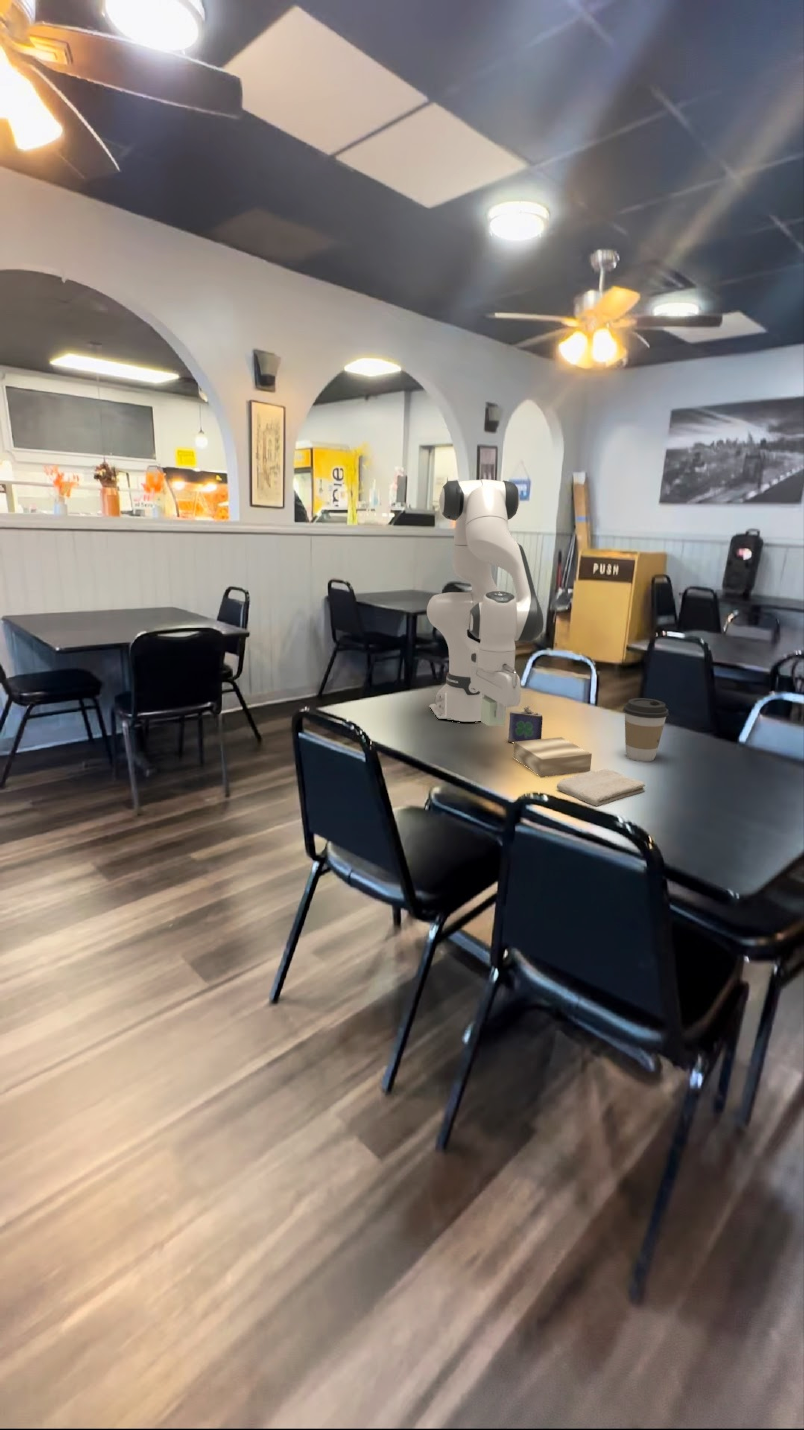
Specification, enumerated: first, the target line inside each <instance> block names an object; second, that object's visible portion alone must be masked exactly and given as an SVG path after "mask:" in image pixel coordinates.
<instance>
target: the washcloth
mask: <svg viewBox="0 0 804 1430" xmlns="http://www.w3.org/2000/svg"><path fill="white" fill-rule="evenodd" d="M645 786H646V784H645V783H644V782H643V781H641V780H637V779H634V778H630V777H627V776H625V775H623V774H622V773H620V772H618V771H615V770H614V771H613V770H610V769H608V768H606V769H605V768H603V769H602V770H597V771H596V770H590V771H589V772H583V773H581V774H577V775H574V776H571V777H568V778H563V779H562V780H560V781H559V782H558V783H557V784H556V789H557V790H558V791H559V790H560V791H559V792H561V791H562V793H563V794H567V795H569V796H572V797H574V798H576V799H579V800H580V801H582V800H583V801H582V802H584V801H585V802H584V803H586V804H589V803H591V804H592V805H591V804H590V805H591V806H594V805H596V806H595V807H599V806H603V805H605V804H607V803H610V802H611V803H612V802H615V801H617V800H620V799H624V798H627V797H629V796H633V795H637V794H639V793H640V794H641V793H643V792H645V791H646V790H645V788H644V787H645ZM598 805H599V806H598Z"/></svg>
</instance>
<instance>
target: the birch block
mask: <svg viewBox="0 0 804 1430" xmlns="http://www.w3.org/2000/svg"><path fill="white" fill-rule="evenodd" d="M592 756H593V754H592V753H591V752H590V751H588V750H585V749H584V748H582V747H580V746H578V745H576V744H574V743H573V742H570V741H569V740H567V739H565V738H563V737H561V736H558V737H550V738H549V737H548V738H541V739H537V740H527V741H517V742H514V744H513V757H514V758H515V759H517V760H518V761H519V762H521V763H522V764H523V765H525V766H527V767H528V768H530V769H531V770H532V771H534V772H535V773H536V774H538V775H539V776H540V777H539V776H538V775H537V776H538V777H539V778H546V777H545V776H548V777H555V776H556V775H557V776H564V775H571V774H579V773H581V774H582V773H587V772H589V771H591V766H592V765H591V764H592ZM519 762H518V763H519ZM522 764H521V765H522ZM523 765H522V766H523ZM525 766H524V767H525ZM528 768H527V769H528ZM531 770H530V771H531ZM532 771H531V772H532ZM534 772H533V773H534ZM535 773H534V774H535ZM536 774H535V775H536Z"/></svg>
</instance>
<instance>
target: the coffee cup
mask: <svg viewBox="0 0 804 1430" xmlns="http://www.w3.org/2000/svg"><path fill="white" fill-rule="evenodd" d="M666 707H667V706H666V703H665V702H663V701H660V700H658V699H653V698H645V697H644V698H642V697H639V698H637V697H636V698H631V699H629V700H628V701H627V704H625V705H623V708H622V712H623V713H624V734H625V735H624V736H625V737H624V738H625V754H626V755H625V756H626V757H627V758H628V759H630V760H632V761H635V762H636V761H637V762H642V763H643V762H645V763H647V762H653V761H654V760H655V758H656V756H657V751H658V748H659V744H660V741H661V737H662V733H663V730H664V725H665V722H666V719H667V717H668V716H669V715H670V714H669V709H668V708H666Z"/></svg>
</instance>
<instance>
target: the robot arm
mask: <svg viewBox="0 0 804 1430" xmlns="http://www.w3.org/2000/svg"><path fill="white" fill-rule="evenodd" d="M520 500H521V499H520V493H519V487H518V486H517V484H516V483H514V482H511V481H507V480H495V479H486V478H485V479H482V478H481V479H469V480H460V481H458V479H457V480H451V481H447V482H446V483H444V485H443V486H442V489H441V491H440V494H439V499H438V501H439V503H438V504H439V509H440V511H441V514H442V516H443V517H444V518H445V519H447V520H451V521H456V522H455V528H454V535H453V548H452V549H453V551H452V552H453V554H452V570H453V573H454V574H455V575H456V576H457V577H458V578H460V579H461V580H463V581H464V582H467V583H468V584H470V586H471V591H470V592H467V591H466V592H464V591H463V592H457V591H455V592H454V591H452V592H450V591H449V592H443V593H438V594H434V595H433V596H431V598H430V599H429V601H428V604H427V606H426V616H427V619H428V621H429V623H430V624H431V626H433V627H434V628H436V630H438V631H439V632H440V633H441V635H442V637H443V638H444V640H445V643H446V644H447V647H448V661H449V662H448V670H449V671H448V672H446V677H445V678H446V679H445V684H444V685H443V686H442V687H441V688H440V689H439V690H438V691H437V694H435V695H434V702H435V703H431V704H429V707H431V709H432V710H433V711H434V713H435V714H436V715H437V717H439V718H451V719H454V720H459V721H481V703H482V698H489V697H490V698H491V699H493V700H495V701H496V702H497V710H496V711H494V717H496V718H497V719H502V718H503V715H504V711H505V709H506V710H507V708H514V707H516V708H517V707H519V705H520V703H521V679H520V676H519V675H518V673H517V671H516V668H515V663H516V661H515V659H516V644H515V643H516V642H522V643H523V642H524V643H532V642H533V641H534V640H536V639H537V638H538V637H539V636H540V635H541V634H542V633H543V630H544V622H545V621H544V614H543V610H542V608H541V605H540V602H539V600H538V597H537V593H536V590H535V586H534V582H533V578H532V574H531V570H530V566H529V561H528V560H527V556H526V553H525V550H524V548H523V546H522V545H521V544H519V543H518V542H517V541H516V540H515V538H513V536H512V534H511V531H510V528H509V520H511V519H512V518H513V517H515V515H516V514H517V512H518V509H519V508H520V507H519V506H520ZM492 565H493V566H496V567H498V568H500V569H502V570H504V571H506V573H508V574H509V575H510V576H511V578H512V580H513V581H512V582H513V584H514V588H515V589H514V590H515V593H516V595H514V594H512V593H511V592H506V591H502V590H500V589H499V588H498V586H497V584H496V583H495V580H494V578H493V574H492ZM516 597H517V598H516ZM468 632H469V633H470V634H471V635H472V636H473V637H474V638H475V639H477V640H478V639H479V641H480V642H479V641H476V640H474V639H472V638H470V637H469V636H468ZM515 641H516V642H515ZM436 704H437V705H436ZM431 709H430V710H431ZM440 715H441V716H440Z"/></svg>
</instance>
